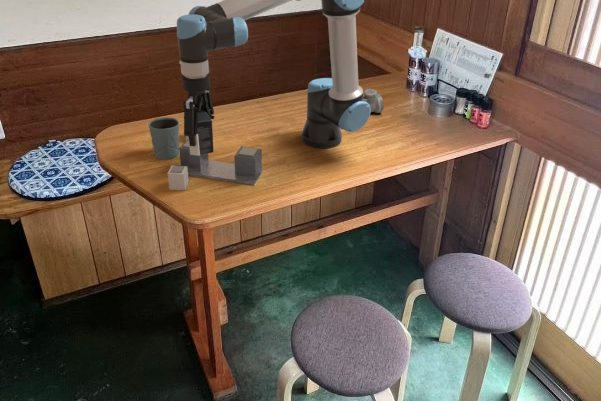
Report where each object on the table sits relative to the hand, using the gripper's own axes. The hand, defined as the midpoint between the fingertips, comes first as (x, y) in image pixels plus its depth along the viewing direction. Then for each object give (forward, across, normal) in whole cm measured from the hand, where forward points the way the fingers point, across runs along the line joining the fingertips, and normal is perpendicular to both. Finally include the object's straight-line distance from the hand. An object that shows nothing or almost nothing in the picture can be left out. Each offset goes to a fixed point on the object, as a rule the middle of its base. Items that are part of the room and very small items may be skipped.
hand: (201, 146), depth 165 cm
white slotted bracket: (+17, -36, -19) cm, 44 cm away
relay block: (+17, -3, -10) cm, 20 cm away
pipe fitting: (+18, -78, +40) cm, 89 cm away
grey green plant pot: (+17, -22, -23) cm, 36 cm away
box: (+1, 0, 0) cm, 1 cm away
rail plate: (+17, -15, 0) cm, 23 cm away
